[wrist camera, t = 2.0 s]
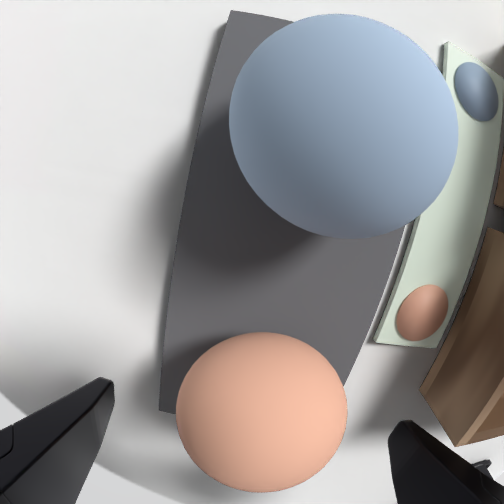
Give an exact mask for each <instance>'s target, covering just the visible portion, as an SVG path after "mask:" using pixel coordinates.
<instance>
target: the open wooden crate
mask: <svg viewBox="0 0 504 504" xmlns="http://www.w3.org/2000/svg"><path fill="white" fill-rule="evenodd" d="M494 204H495V205H497V206H499V207H501V208H503V209H504V149H503V156H502V162H501V168H500V174H499V180H498V185H497V190H496V195H495V199H494Z"/></svg>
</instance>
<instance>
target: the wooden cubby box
mask: <svg viewBox="0 0 504 504" xmlns="http://www.w3.org/2000/svg"><path fill="white" fill-rule="evenodd" d="M419 391H420V392H421V394H422V395H423V397H424V398H425V400H426V401H427V403H428V405H429V406H430V408H431V409H432V411H433V412H434V414H435V416H436V417H437V419H438V420H439V422H440V424H441V425H442V427H443V429H444V430H445V432H446V433H447V435H448V437H449V438H450V440H451V442H452V443H453V445H454V447H458V446H462V445H467V444H471V443H476V442H480V441H484V440H487V439H491V438H495V437H498V436H502V435H504V233H503V232H500V231H497V230H495V229H492V228H489V227H487V231H486V235H485V238H484V242H483V245H482V248H481V251H480V255H479V258H478V261H477V264H476V267H475V270H474V272H473V275H472V278H471V281H470V283H469V286H468V289H467V291H466V294H465V296H464V299H463V301H462V304H461V306H460V309H459V311H458V313H457V316H456V318H455V320H454V323H453V325H452V327H451V329H450V331H449V334H448V336H447V338H446V340H445V342H444V344H443V346H442V348H441V350H440V352H439V354H438V356H437V358H436V360H435V362H434V364H433V365H432V367H431V369H430V371H429V373H428V375H427V376H426V378H425V380H424V382H423V384H422V385H421V387H420V389H419Z"/></svg>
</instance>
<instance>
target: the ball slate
mask: <svg viewBox="0 0 504 504" xmlns="http://www.w3.org/2000/svg"><path fill="white" fill-rule="evenodd" d="M229 129H230V138H231V143H232V147H233V151H234V155H235V157H236V160H237V162H238V165H239V167H240V169H241V171H242V173H243V175H244V177H245V178H246V180H247V182H248V183H249V185H250V186H251V187H252V189H253V190H254V191H255V193H256V194H257V195H258V196H259V197H260V198H261V199H262V200H263V201H264V203H265V204H266V205H267V206H269V207H270V208H271V209H272V210H273V211H275V212H276V213H277V214H278V215H280V216H281V217H282V218H284V219H286V220H287V221H289V222H290V223H292V224H294V225H296V226H298V227H300V228H302V229H305V230H307V231H309V232H313V233H316V234H319V235H322V236H328V237H334V238H341V239H360V238H370V237H374V236H378V235H382V234H385V233H389V232H391V231H394V230H396V229H399V228H401V227H403V226H404V225H406V224H408V223H409V222H411V221H413V220H414V219H415V218H416V217H418V216H419V215H420V214H422V213H423V212H424V211H425V210H426V209H427V208H428V207H429V206H430V205H431V204H432V203H433V202H434V201H435V200H436V198H437V197H438V195H439V194H440V193H441V191H442V190H443V188H444V186H445V184H446V182H447V180H448V178H449V176H450V173H451V171H452V168H453V165H454V162H455V158H456V154H457V147H458V119H457V113H456V108H455V104H454V100H453V98H452V95H451V92H450V89H449V87H448V85H447V83H446V81H445V79H444V77H443V75H442V74H441V72H440V71H439V69H438V67H437V66H436V65H435V63H434V62H433V61H432V59H431V58H430V57H429V56H428V55H427V54H426V53H425V52H424V51H423V50H422V49H421V48H420V47H419V46H418V45H417V44H416V43H415V42H413V41H412V40H411V39H410V38H408V37H407V36H405V35H404V34H402V33H401V32H399V31H398V30H396V29H394V28H392V27H390V26H388V25H385V24H383V23H381V22H378V21H375V20H372V19H369V18H366V17H361V16H356V15H348V14H328V15H318V16H313V17H308V18H304V19H302V20H299V21H296V22H293V23H291V24H289V25H287V26H285V27H283V28H282V29H280V30H278V31H276V32H275V33H273V34H272V35H271V36H269V37H268V38H267V39H265V40H264V41H263V42H262V43H261V44H260V45H259V46H258V47H257V48H256V49H255V50H254V52H253V53H252V54H251V56H250V57H249V58H248V60H247V61H246V63H245V64H244V65H243V67H242V69H241V71H240V73H239V75H238V77H237V79H236V82H235V85H234V88H233V91H232V96H231V102H230V108H229Z"/></svg>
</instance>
